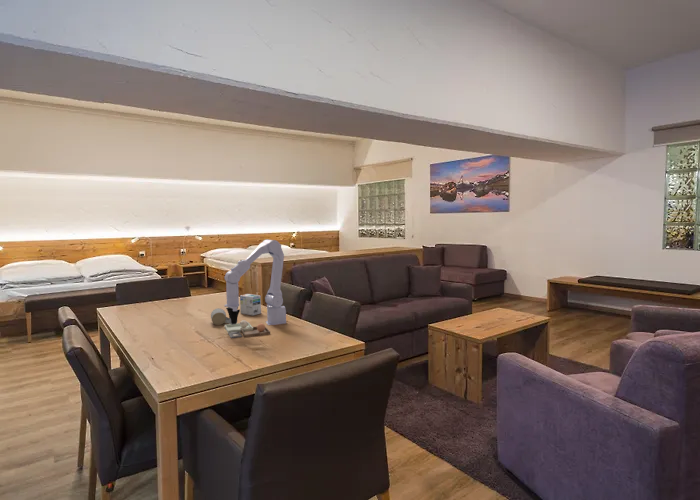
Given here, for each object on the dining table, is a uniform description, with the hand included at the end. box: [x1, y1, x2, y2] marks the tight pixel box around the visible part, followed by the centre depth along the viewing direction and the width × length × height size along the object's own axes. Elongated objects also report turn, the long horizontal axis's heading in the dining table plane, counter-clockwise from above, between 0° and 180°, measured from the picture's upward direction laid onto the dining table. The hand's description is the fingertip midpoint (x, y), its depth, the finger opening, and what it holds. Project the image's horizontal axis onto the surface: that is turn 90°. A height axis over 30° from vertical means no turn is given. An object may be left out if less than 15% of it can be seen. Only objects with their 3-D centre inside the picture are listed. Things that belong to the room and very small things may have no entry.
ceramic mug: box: [210, 307, 230, 326], centre depth 216 cm, size 11×8×8 cm
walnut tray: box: [240, 325, 271, 338], centre depth 198 cm, size 12×12×2 cm
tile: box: [227, 332, 243, 339], centre depth 194 cm, size 5×8×1 cm, turn 24°
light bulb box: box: [239, 293, 262, 316], centre depth 239 cm, size 11×7×11 cm, turn 58°
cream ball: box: [239, 319, 248, 328], centre depth 206 cm, size 4×4×4 cm
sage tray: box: [224, 321, 254, 334], centre depth 205 cm, size 12×12×2 cm
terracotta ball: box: [257, 323, 266, 332], centre depth 199 cm, size 4×4×4 cm
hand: (233, 322), depth 204 cm, fingers closed on grey ball, 4 cm apart
